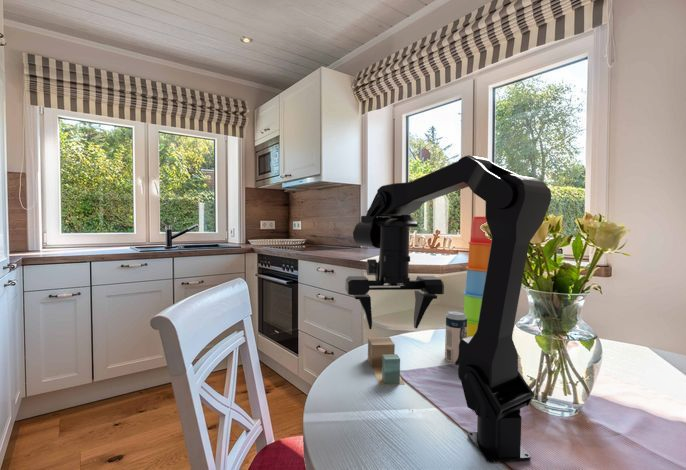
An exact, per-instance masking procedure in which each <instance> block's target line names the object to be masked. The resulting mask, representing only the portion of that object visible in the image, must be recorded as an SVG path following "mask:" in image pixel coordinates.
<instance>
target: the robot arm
mask: <svg viewBox="0 0 686 470" xmlns="http://www.w3.org/2000/svg"><path fill="white" fill-rule="evenodd" d="M465 188H469V189H470V190H471V191H472V193H473V194H474V195H476V197H479V198H480V199H482V200H483V201H484V202H485V204H484V205H485V211H484V212H485V216H484V217H485V218H486V221H487V224H488V227H489V230H490V233H491V236H492V242H491V248H490V254H489V260H488V266H487V272H486V278H485V284H484V290H483V296H482V302H481V308H480V315H479V321H478V327H477V331H476V333H475V334H474V336H472V337H468V338H464V339H461V340H460V343H459V355H458V359H457V361H456V362H455V363H454V364H455V365H456V366H458V367H457V375H458V379H459V380H460V382H461V387H462V390H463V395H464V399H465V403H466V406H467V408H468V409H469V410H471V411H473V412H474V413H475V415H476V418H477V421H476V423H477V424H476V431H468V432H467V438H468V439H469V440H470V441H471V442H470V443H472V444H473V446H474V447H475V448H476V449H477V451H478V453H480V455H481V456H482V457H483V459H484V460H485V461H486V462H488V463H491V464H492V463H504V462H505V463H507V462H521V461H522V462H524V461H525V462H526V461H530V460H531V458H532V456H531V454H530V453H529V452H528V451H527V450H526V449H525V448H524V447H523V446H522V445H521V444H522V422H523V421H522V419H523V418H522V416H521V409H522V408H525V407H528V406H530V405H531V403H532V402H533V399H534V397H535V393H534V391H533V390H532V389H531V387H530V386H529V384H528V383H527V382H526V380H525V379H524V377H523V376H522V374H521V373H520V372H519V354H518V352H517V348H516V345H515V343H514V340H513V333H514V326H515V323H516V317H517V311H518V304H519V299H520V296H521V289H522V285H523V280H524V279H523V277H524V272H525V267H526V262H527V258H528V257H527V256H528V251H529V246H530V243H531V241H532V239H533V237H534V236H535V235H536V233H537V232H538V230H539V229H540V228H541V226H542V225H543V223H544V220H545V218H546V215H547V212H548V210H549V207H550V205H551V201H552V192H551V188H549V187H548V185H547V184H546V183H545V181H543V180H541V179H540V178H536V177H533V176H532V177H530V176H523V175H519V174H517V173H516V172H513V171H511V170H509V169H506V168H504V167H502V166H500V165H498V164H496V163H495V162H492V161H491V160H489V159H488V158H486V157H480V156H474V155H470V154H469V155H464V156H462V157H460V158H459V159H458V160H457V161H455V162H452V163H450V164H448V165H445V166H443V167H440V168H439V169H436V170H434V171H431V172H429V173H427V174H425V175H422V176H421V177H418V178H416V179H413V180H411V181H407V182H397V183H396V182H395V183H389V184H383V185H382V186H379V188H378V189H377V191H376V194H375V196H374V198H373V200H372V202H371V205H370V206H369V208H368V210H367V211H366V215H361V216H360V221H359V222H358V223H357V224H356V225H355V227H354V230H353V232H352V236H353V237H352V238H353V240H354V242H355V244H356V245H357V246H360V247H365V248H372V249H379V256H378V261H377V259H374V258H373V259H370V258H369V259H367V260H366V276H374V277H375V278H374V279H375V280H374V279H373V280H372V279H371V280H369V278H367V277H366V276H363V275H362V276H361V275H360V276H359V275H356V276H355V275H352V276H350V275H349V276H347V278H345V286H344V287H345V292H346V293H347V295H349V296H352V297H353V298H354V300H358V301H359V302H360V304H361V306H362V307H361V308H362V309H363V313H364V316H365V317H364V318H365V320H366V323H367V327H368V329H369V330H372V327H373V317H372V316H373V314H372V313H373V312H372V298H371V296H370V294H369V291H381V290H382V291H385V290H386V291H387V290H388V291H391V290H393V291H397V290H398V291H400V290H401V291H403V290H405V291H406V290H408V291H411V290H412V291H413V290H414V298H415V299H414V300H415V301H414V314H413V328H414V329H418V328H419V325H420V324H421V321H422V319H423V318H424V315H425V313H426V310H427V309H428V308H429V306H430V305H431V303H432V301H433V300H434V299H438V295H444V294H445V284H444V283H445V282H444V281H443V280H442V279H440V278H438V277H436V276H434V275H417V277H416V278H415V279H414V280H411V278H410V276H409V273H410V272H409V270H410V267H409V265H410V262H411V256H410V228H417V227H418V226H419V223H418V222H417V221H416V220H414V219H413V217H411V216H412V215H411V214H413V213H414V212H416V211H418V210H419V209H421V206H422V205H423V204H425V203H427V202H429V201H432V200H435V199H438V198H441V197H444V196H447V195H448V194H451V193H455V192H457V191H460V190H463V189H465Z"/></svg>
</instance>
